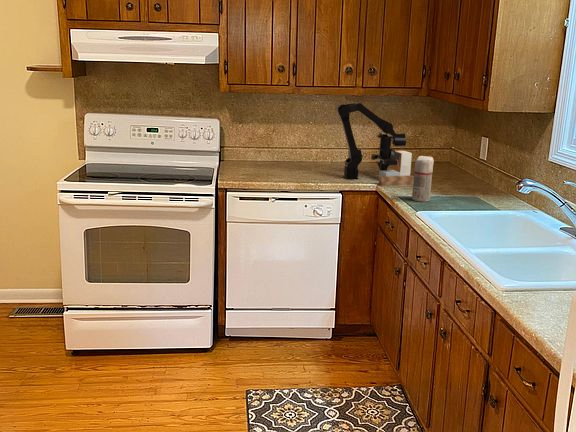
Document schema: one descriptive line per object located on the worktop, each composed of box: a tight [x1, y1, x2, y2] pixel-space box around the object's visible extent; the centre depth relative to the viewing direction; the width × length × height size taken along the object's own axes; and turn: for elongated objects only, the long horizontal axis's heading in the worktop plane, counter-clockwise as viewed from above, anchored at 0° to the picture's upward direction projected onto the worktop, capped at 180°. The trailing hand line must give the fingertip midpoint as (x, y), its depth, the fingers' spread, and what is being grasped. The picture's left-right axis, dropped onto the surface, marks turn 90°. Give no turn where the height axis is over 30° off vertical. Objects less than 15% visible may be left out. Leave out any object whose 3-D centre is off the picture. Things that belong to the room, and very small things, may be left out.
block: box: [378, 169, 400, 178], centre depth 322 cm, size 8×8×5 cm
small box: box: [393, 150, 413, 176], centre depth 336 cm, size 8×6×13 cm
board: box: [378, 174, 414, 187], centre depth 314 cm, size 18×3×4 cm, turn 108°
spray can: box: [411, 155, 435, 203], centre depth 280 cm, size 8×8×20 cm
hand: (383, 175), depth 328 cm, fingers closed
